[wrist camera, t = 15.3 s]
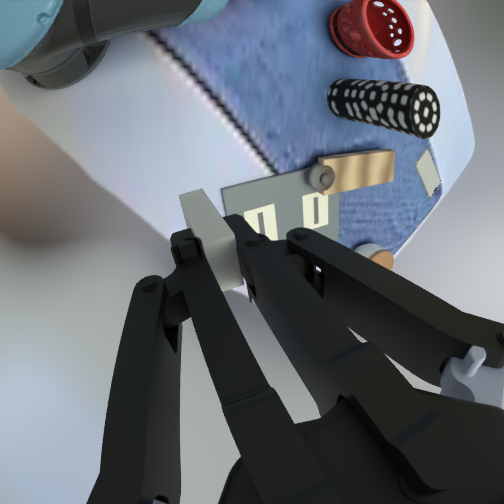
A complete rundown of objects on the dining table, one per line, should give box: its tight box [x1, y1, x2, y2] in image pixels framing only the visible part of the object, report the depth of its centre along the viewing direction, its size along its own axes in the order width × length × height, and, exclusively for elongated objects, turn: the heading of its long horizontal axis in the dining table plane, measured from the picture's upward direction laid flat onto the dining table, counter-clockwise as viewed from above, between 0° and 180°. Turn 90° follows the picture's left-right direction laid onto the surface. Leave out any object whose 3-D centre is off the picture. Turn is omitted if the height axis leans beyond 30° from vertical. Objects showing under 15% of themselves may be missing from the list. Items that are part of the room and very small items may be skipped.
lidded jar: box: [354, 243, 394, 270], centre depth 66 cm, size 11×11×9 cm
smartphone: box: [415, 148, 441, 198], centre depth 66 cm, size 7×1×15 cm
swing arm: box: [307, 149, 395, 196], centre depth 52 cm, size 22×7×3 cm, turn 96°
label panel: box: [221, 167, 339, 241], centre depth 55 cm, size 18×24×2 cm
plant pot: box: [329, 0, 414, 59], centre depth 35 cm, size 13×13×12 cm
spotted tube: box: [328, 79, 440, 139], centre depth 39 cm, size 8×8×20 cm
